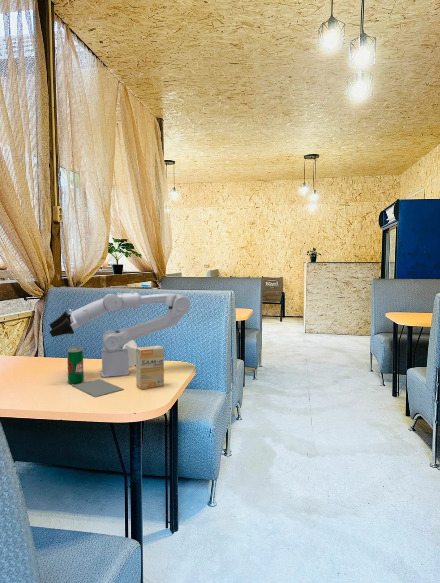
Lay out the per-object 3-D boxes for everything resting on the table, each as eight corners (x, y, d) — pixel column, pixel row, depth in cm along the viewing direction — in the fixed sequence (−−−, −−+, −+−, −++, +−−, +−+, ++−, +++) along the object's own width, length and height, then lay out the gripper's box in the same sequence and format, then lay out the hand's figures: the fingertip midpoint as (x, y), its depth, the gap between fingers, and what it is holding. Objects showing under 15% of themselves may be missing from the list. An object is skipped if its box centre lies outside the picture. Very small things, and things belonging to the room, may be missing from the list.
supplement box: (140, 390, 127) (139, 350, 127) (136, 386, 132) (135, 347, 131) (164, 386, 131) (164, 347, 130) (159, 382, 136) (159, 344, 135)
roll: (132, 337, 154) (119, 336, 156) (132, 367, 155) (120, 366, 157) (139, 334, 160) (127, 333, 162) (140, 363, 161) (128, 362, 162)
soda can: (78, 385, 133) (77, 349, 132) (65, 384, 134) (63, 349, 133) (86, 380, 138) (85, 346, 137) (73, 379, 139) (72, 345, 138)
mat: (72, 386, 132) (72, 385, 132) (99, 379, 139) (99, 379, 139) (95, 397, 121) (95, 396, 121) (123, 389, 128) (123, 388, 128)
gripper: (81, 298, 147) (45, 315, 144) (84, 309, 134) (45, 327, 131) (89, 314, 150) (54, 331, 146) (93, 326, 137) (55, 345, 133)
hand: (50, 330), depth 139 cm, fingers open, 7 cm apart
